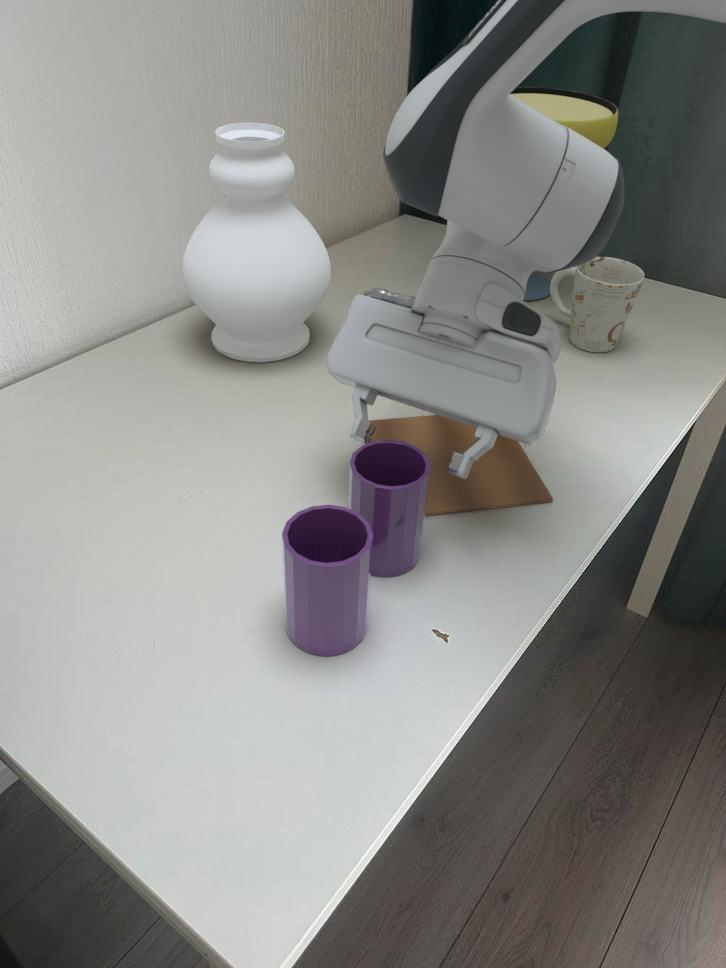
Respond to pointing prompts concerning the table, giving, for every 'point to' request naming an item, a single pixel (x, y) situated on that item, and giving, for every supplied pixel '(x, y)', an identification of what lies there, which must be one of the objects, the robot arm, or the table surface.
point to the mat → (491, 477)
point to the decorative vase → (255, 251)
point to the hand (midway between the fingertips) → (406, 458)
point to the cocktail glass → (582, 117)
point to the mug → (599, 301)
